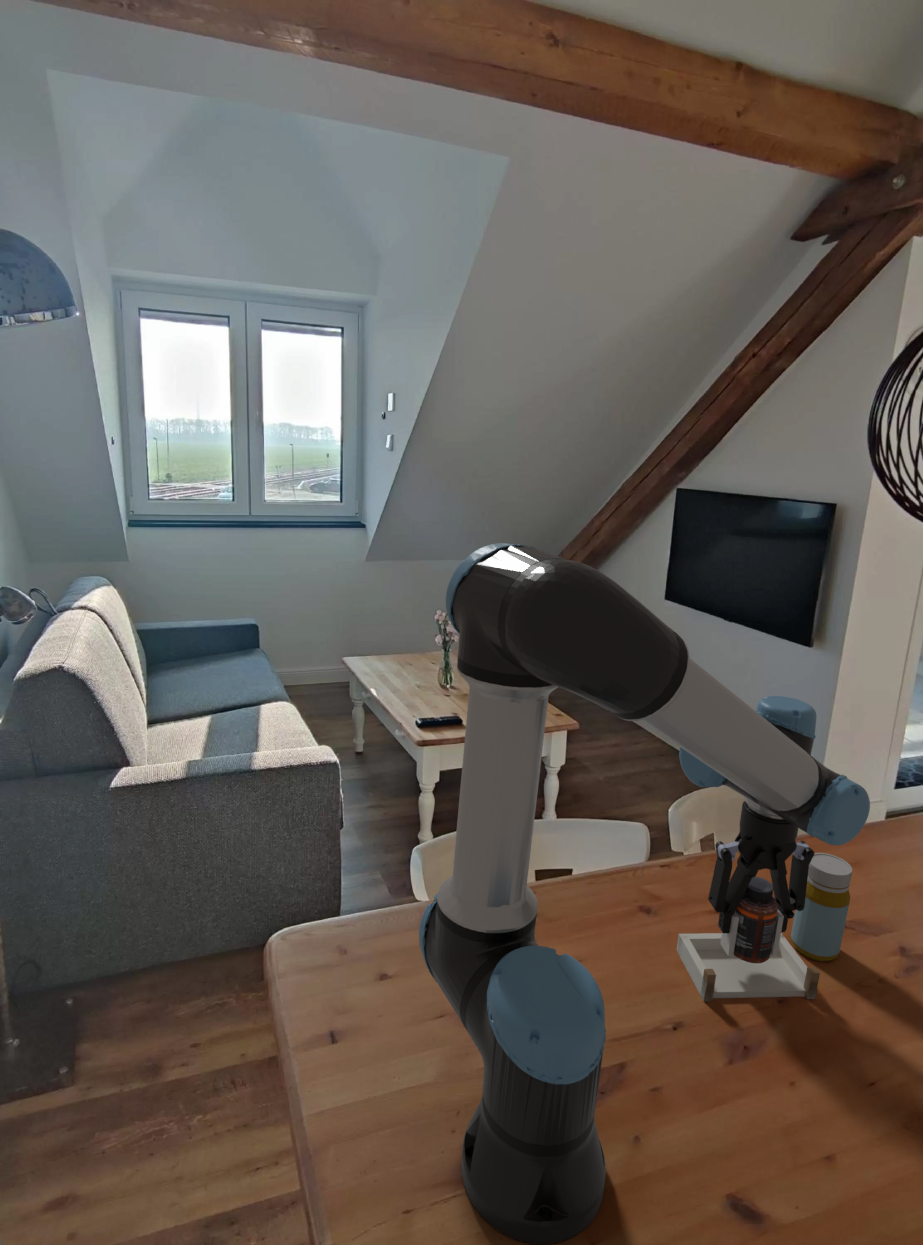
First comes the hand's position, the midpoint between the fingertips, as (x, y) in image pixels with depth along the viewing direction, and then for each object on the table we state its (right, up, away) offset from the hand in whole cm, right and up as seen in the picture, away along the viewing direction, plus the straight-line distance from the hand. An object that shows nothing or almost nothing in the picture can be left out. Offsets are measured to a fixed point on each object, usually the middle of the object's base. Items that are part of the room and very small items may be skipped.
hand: (748, 949), depth 108 cm
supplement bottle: (0, -1, 0) cm, 1 cm away
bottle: (+13, -4, +8) cm, 16 cm away
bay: (0, -4, +1) cm, 4 cm away
